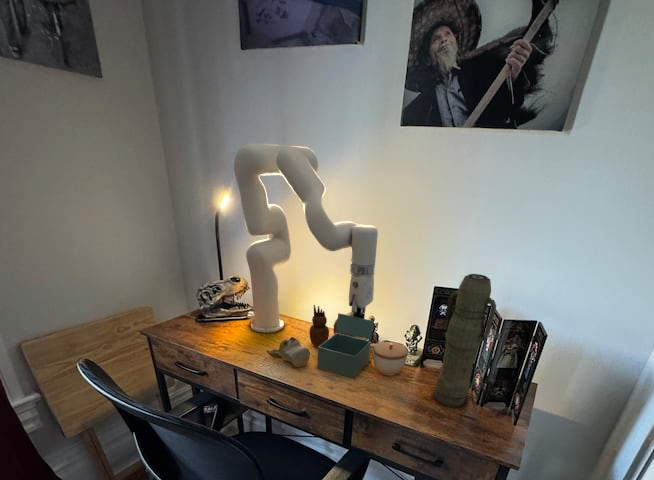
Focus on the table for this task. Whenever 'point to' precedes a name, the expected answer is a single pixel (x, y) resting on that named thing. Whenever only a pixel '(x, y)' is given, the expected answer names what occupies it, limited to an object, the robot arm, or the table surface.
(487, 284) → the thermos
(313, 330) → the wooden figurine
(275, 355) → the ceramic sculpture
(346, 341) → the carton
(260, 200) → the robot arm
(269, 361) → the table surface
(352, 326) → the flap
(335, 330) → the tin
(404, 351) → the trinket box
